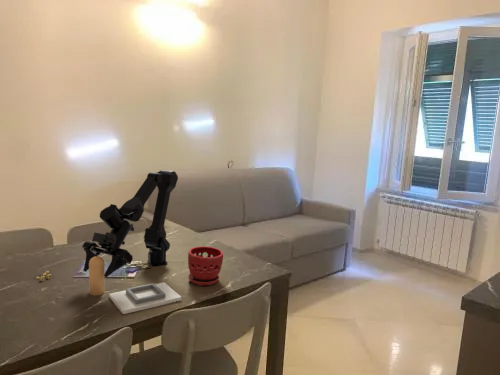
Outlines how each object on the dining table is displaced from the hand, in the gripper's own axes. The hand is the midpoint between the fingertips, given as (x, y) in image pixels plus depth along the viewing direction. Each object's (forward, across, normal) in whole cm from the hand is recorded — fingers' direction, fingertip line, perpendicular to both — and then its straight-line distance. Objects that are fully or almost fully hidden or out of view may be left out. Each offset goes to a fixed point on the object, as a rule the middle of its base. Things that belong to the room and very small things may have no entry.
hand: (94, 273), depth 140 cm
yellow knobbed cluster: (+5, -25, +6) cm, 26 cm away
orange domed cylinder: (+4, 0, +6) cm, 7 cm away
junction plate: (+1, +17, +9) cm, 19 cm away
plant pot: (-15, +26, +26) cm, 40 cm away
